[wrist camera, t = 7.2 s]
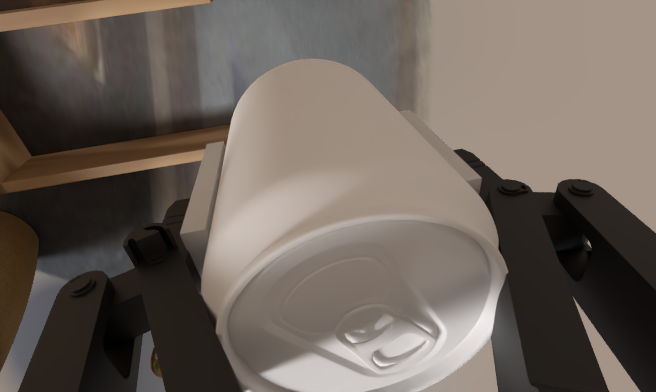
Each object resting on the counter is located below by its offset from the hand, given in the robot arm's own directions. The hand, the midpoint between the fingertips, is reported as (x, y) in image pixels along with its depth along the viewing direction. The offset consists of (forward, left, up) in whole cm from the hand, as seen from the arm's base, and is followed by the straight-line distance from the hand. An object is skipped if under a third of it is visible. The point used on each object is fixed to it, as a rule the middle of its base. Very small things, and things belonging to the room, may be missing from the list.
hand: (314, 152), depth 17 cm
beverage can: (0, 0, -2) cm, 2 cm away
